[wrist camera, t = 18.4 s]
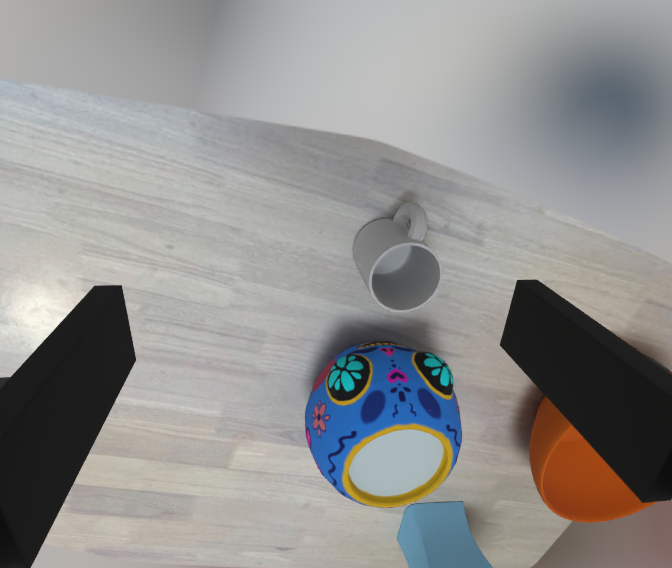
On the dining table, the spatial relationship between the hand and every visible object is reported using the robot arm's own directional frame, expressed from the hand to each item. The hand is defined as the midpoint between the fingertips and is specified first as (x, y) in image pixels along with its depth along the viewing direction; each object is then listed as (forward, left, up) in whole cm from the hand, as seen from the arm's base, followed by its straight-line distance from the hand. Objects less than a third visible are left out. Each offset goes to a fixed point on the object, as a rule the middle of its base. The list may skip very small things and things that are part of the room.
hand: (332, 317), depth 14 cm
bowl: (+33, +45, -31) cm, 63 cm away
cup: (+7, +11, -31) cm, 33 cm away
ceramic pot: (+26, +11, -31) cm, 41 cm away
